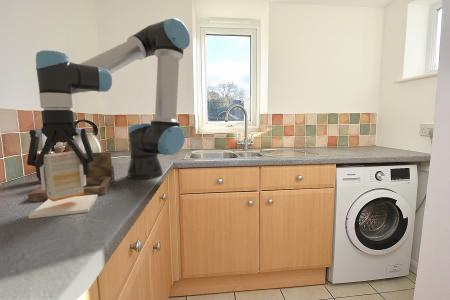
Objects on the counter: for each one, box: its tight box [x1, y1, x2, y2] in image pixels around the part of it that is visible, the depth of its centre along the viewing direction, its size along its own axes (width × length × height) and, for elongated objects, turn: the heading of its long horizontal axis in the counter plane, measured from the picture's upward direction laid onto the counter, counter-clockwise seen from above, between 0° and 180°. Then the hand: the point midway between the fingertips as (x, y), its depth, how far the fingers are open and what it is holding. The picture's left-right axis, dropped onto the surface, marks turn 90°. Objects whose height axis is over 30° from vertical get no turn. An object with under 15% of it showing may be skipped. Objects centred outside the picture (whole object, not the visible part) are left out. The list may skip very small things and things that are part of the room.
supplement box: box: [43, 150, 84, 202], centre depth 72 cm, size 8×5×13 cm, turn 141°
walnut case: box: [27, 151, 116, 202], centre depth 90 cm, size 23×20×12 cm
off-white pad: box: [28, 194, 99, 219], centre depth 74 cm, size 14×14×1 cm
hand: (65, 187), depth 73 cm, fingers closed on supplement box, 9 cm apart
